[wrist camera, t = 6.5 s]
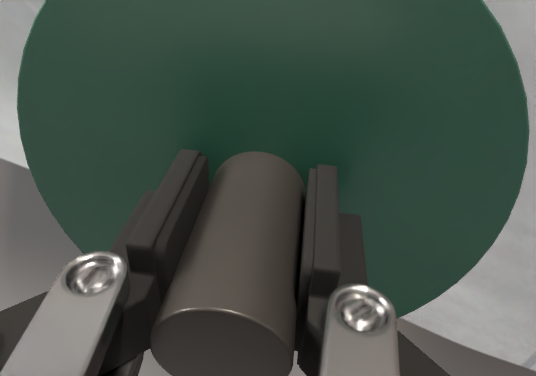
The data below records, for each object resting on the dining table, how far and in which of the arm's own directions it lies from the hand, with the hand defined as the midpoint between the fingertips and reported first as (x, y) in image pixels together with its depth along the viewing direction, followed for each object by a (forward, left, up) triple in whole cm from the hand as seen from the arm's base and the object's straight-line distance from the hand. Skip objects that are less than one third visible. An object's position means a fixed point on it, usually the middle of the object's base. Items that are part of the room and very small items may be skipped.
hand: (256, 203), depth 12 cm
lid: (0, 0, -1) cm, 1 cm away
